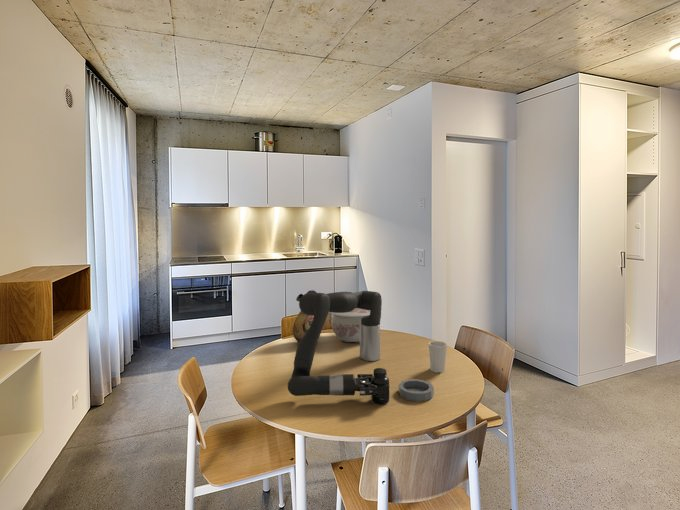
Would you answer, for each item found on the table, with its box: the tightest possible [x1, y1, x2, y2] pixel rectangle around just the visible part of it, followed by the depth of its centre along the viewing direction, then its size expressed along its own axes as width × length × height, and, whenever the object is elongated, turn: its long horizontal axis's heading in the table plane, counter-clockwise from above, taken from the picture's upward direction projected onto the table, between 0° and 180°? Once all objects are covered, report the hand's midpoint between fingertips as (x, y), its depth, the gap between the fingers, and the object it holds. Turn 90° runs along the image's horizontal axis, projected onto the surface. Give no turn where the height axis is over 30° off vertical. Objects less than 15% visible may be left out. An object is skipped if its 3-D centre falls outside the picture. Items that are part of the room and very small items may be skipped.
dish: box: [398, 378, 435, 402], centre depth 153 cm, size 13×13×3 cm
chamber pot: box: [328, 308, 370, 343], centre depth 224 cm, size 28×28×21 cm
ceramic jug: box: [292, 289, 318, 344], centre depth 215 cm, size 17×15×30 cm
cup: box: [428, 340, 448, 373], centre depth 177 cm, size 8×8×12 cm
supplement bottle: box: [370, 367, 390, 406], centre depth 147 cm, size 7×7×12 cm
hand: (386, 383), depth 147 cm, fingers closed on supplement bottle, 7 cm apart
